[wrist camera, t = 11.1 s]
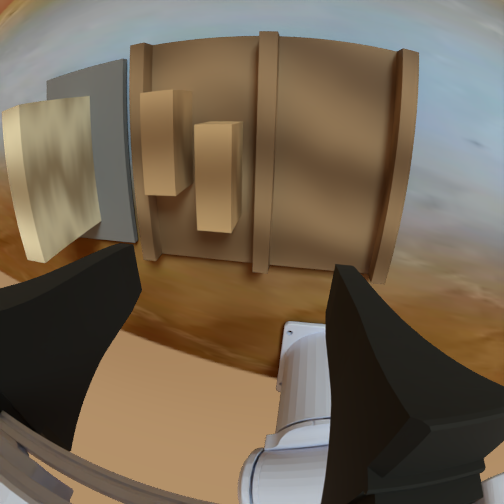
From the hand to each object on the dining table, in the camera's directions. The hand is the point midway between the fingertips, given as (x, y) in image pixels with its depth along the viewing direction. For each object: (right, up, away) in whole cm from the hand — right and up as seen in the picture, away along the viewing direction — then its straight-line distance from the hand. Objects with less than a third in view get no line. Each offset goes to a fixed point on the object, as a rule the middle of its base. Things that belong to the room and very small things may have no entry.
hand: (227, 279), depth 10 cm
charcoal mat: (-12, +8, +10) cm, 18 cm away
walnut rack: (+2, +7, +8) cm, 11 cm away
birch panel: (-12, +8, +9) cm, 17 cm away
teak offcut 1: (-4, +8, +7) cm, 12 cm away
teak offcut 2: (-1, +6, +8) cm, 10 cm away
